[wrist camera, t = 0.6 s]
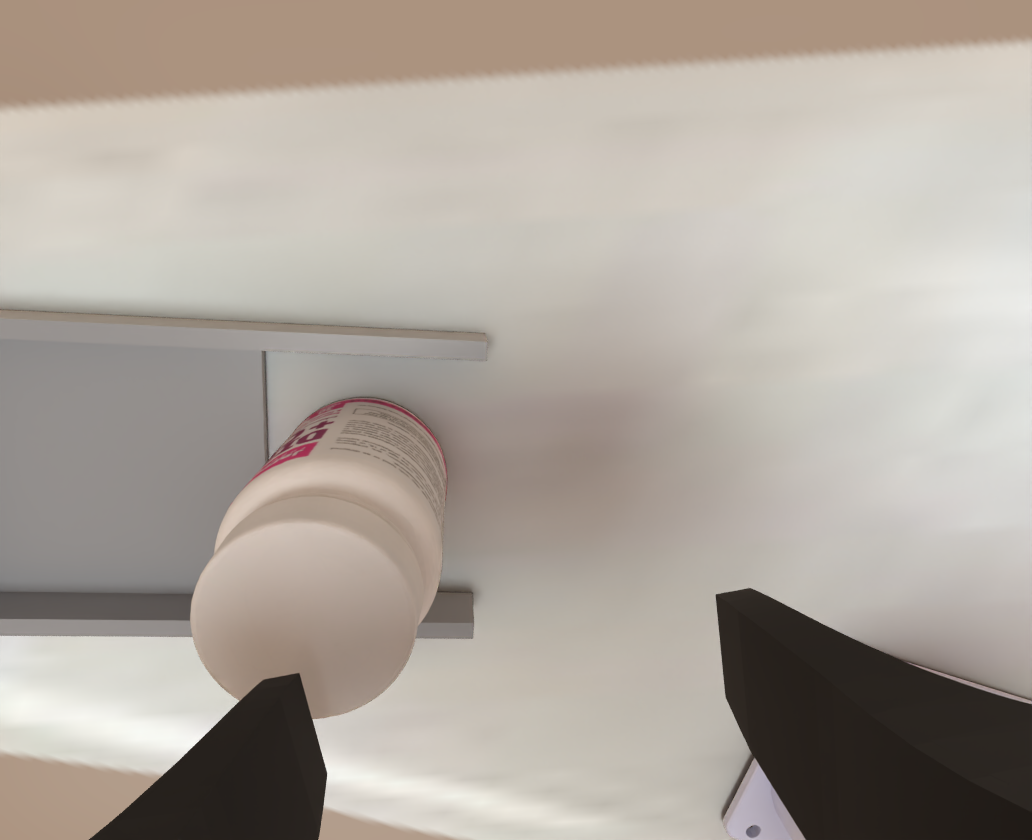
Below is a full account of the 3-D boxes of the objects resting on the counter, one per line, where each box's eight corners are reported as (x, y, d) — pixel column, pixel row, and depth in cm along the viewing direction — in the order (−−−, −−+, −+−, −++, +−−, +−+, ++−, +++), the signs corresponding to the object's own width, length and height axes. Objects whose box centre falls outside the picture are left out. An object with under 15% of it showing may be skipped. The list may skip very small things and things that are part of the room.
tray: (485, 333, 20) (487, 341, 18) (471, 607, 22) (473, 638, 20) (-89, 305, 18) (-147, 311, 16) (-45, 601, 20) (-92, 635, 18)
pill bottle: (324, 366, 19) (229, 451, 11) (474, 437, 20) (487, 565, 12) (257, 508, 20) (124, 684, 12) (404, 572, 21) (372, 774, 13)
